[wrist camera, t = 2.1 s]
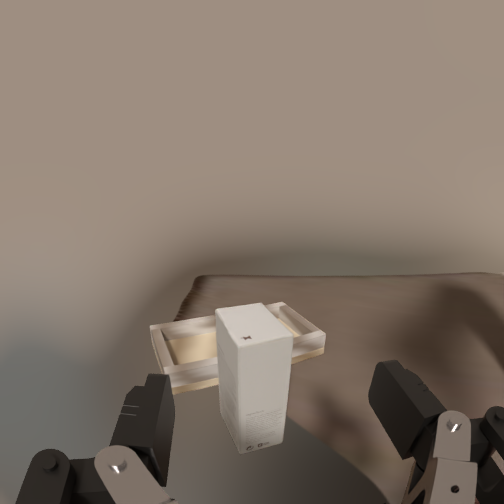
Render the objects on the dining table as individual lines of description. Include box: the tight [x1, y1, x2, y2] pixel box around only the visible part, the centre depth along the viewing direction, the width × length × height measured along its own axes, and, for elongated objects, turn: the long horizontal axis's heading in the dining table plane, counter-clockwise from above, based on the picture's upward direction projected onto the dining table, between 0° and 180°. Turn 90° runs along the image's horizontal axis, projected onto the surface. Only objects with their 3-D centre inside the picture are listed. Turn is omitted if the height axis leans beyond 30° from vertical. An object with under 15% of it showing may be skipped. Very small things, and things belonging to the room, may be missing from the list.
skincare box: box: [215, 303, 294, 454], centre depth 24 cm, size 6×4×12 cm
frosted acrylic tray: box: [150, 302, 326, 394], centre depth 38 cm, size 20×11×3 cm, turn 115°
